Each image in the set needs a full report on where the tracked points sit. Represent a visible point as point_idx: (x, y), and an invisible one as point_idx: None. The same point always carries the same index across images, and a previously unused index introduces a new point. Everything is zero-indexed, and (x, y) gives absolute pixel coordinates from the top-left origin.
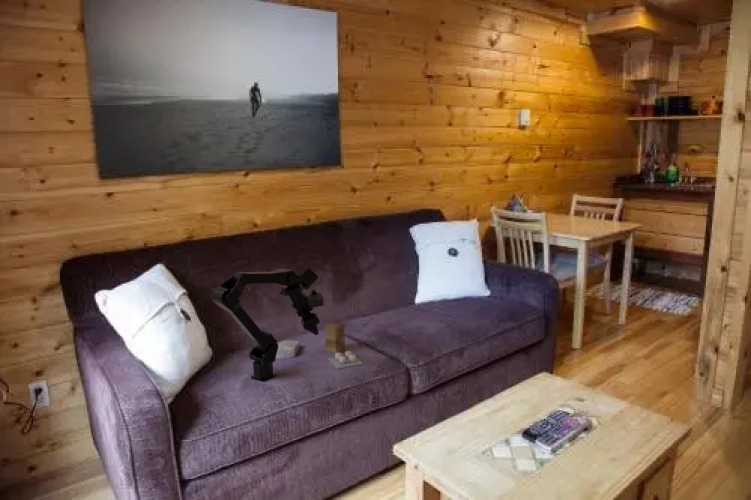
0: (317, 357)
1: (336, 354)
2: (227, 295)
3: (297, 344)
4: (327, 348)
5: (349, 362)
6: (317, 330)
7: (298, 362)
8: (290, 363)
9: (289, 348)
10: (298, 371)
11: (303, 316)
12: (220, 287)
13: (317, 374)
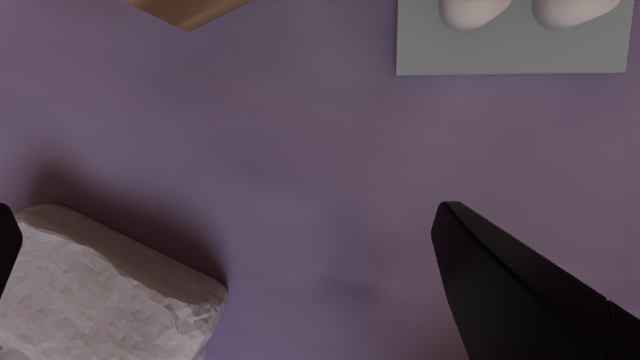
0: (301, 139)
1: (494, 13)
2: None
3: (83, 245)
4: (196, 17)
5: None
6: (544, 264)
7: (334, 290)
8: (327, 341)
9: (186, 348)
10: None
11: None
12: None
13: (623, 241)
